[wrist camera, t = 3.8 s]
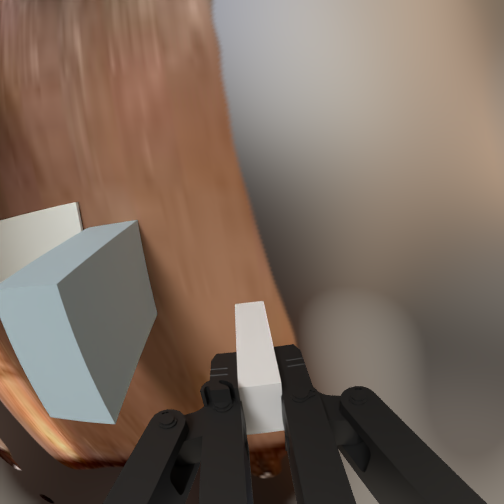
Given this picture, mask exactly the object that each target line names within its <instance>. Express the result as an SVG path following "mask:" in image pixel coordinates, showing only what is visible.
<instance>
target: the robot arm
mask: <svg viewBox="0 0 504 504" xmlns="http://www.w3.org/2000/svg"><path fill="white" fill-rule="evenodd" d="M235 321H236V349H237V352H233V353H223V354H216V355H215V357H214V358H213V359H212V361H211V371H210V381H208V382H206V383H205V384H204V385H203V386H202V388H201V390H200V392H201V396H202V400H203V403H204V407H203V408H202V409H200V410H199V411H196V412H194V413H190V414H187V415H183V414H182V413H181V412H180V411H177V410H168V409H167V410H164V411H160V412H159V413H157V414H155V415H154V417H153V418H152V419H151V421H150V422H149V424H148V426H147V427H146V429H145V431H144V433H143V434H142V436H141V438H140V440H139V441H138V443H137V445H136V447H135V448H134V450H133V452H132V454H131V455H130V457H129V459H128V460H127V462H126V464H125V466H124V467H123V469H122V471H121V473H120V474H119V476H118V478H117V480H116V482H115V483H114V485H113V487H112V488H111V490H110V492H109V494H108V495H107V497H106V499H105V501H104V502H103V504H185V502H186V500H187V497H188V494H189V492H190V489H191V486H192V484H193V482H194V479H195V476H196V474H197V471H198V468H199V466H200V462H201V470H200V490H199V504H253V494H252V483H251V471H250V459H249V447H248V441H247V435H249V434H258V433H267V432H275V431H282V430H284V431H285V446H286V451H287V452H288V458H289V462H290V468H291V474H292V479H293V484H294V490H295V495H296V500H297V504H356V502H355V499H354V496H353V493H352V490H351V486H350V484H349V480H348V478H347V475H346V472H345V469H344V466H343V463H342V460H341V457H340V454H339V451H338V449H339V450H340V452H341V453H342V454H343V456H344V457H345V458H346V460H347V461H348V463H349V464H350V465H351V467H352V468H353V469H354V471H355V472H356V473H357V475H358V476H359V477H360V479H361V480H362V481H363V483H364V484H365V485H366V487H367V488H368V489H369V491H370V492H371V493H372V495H373V496H374V497H375V499H376V500H377V501H378V502H379V504H487V503H486V502H485V501H484V500H483V499H482V498H481V497H480V496H479V495H478V494H476V493H475V492H474V491H473V490H472V489H471V488H470V487H469V486H468V485H467V484H466V483H465V482H464V481H463V480H462V479H461V478H460V477H459V476H458V475H457V474H456V473H455V472H454V471H453V470H452V469H451V468H450V467H449V466H448V465H447V464H446V463H445V462H444V461H443V460H442V459H441V458H440V457H438V455H436V453H435V452H433V451H432V450H431V449H430V448H429V447H428V446H427V445H426V444H425V443H424V442H423V441H422V440H421V439H420V438H419V437H418V436H417V435H416V434H415V433H414V432H413V431H412V430H411V429H410V428H409V427H408V426H407V425H406V424H405V423H404V422H403V421H402V420H401V419H400V418H399V417H398V416H397V415H396V414H395V413H394V412H393V411H392V410H391V409H390V408H389V407H388V406H387V405H386V404H385V403H384V402H383V401H382V400H381V399H380V398H379V397H378V396H377V395H376V394H375V393H374V392H373V391H372V390H370V389H368V388H366V387H362V386H355V387H351V388H348V389H346V390H345V391H344V392H343V393H342V394H341V396H330V395H325V394H322V393H319V392H318V391H317V390H316V389H315V388H314V387H313V385H312V383H311V380H310V377H309V374H308V371H307V368H306V365H305V362H304V359H303V357H302V354H301V351H300V349H298V348H297V347H296V346H295V345H294V344H292V345H285V346H278V347H273V343H272V338H271V334H270V329H269V325H268V320H267V315H266V311H265V306H264V302H263V301H259V302H250V303H242V304H235Z"/></svg>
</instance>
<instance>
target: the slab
mask: <svg viewBox="0 0 504 504" xmlns="http://www.w3.org/2000/svg"><path fill="white" fill-rule="evenodd" d="M156 316H157V310H156V306H155V302H154V298H153V294H152V290H151V285H150V281H149V276H148V272H147V267H146V262H145V257H144V252H143V247H142V242H141V237H140V232H139V226H138V220H134V221H127V222H121V223H114V224H108V225H102V226H96V227H90V228H87V229H85V230H83V231H81V232H80V233H78V234H76V235H75V236H73V237H71V238H70V239H68V240H66V241H65V242H63V243H61V244H60V245H58V246H56V247H55V248H53V249H51V250H50V251H48V252H47V253H45V254H43V255H42V256H40V257H39V258H37V259H36V260H34V261H33V262H31V263H29V264H28V265H26V266H25V267H23V268H22V269H20V270H19V271H17V272H16V273H14V274H13V275H11V276H10V277H9V278H7V279H6V280H4V281H3V282H1V283H0V318H1V321H2V323H3V326H4V328H5V331H6V333H7V335H8V338H9V340H10V342H11V344H12V347H13V349H14V351H15V353H16V355H17V357H18V359H19V362H20V364H21V366H22V368H23V370H24V371H25V373H26V375H27V377H28V379H29V381H30V383H31V385H32V386H33V388H34V390H35V392H36V394H37V395H38V397H39V399H40V401H41V402H42V404H43V406H44V407H45V409H46V410H47V412H48V414H49V415H50V417H54V418H61V419H68V420H76V421H84V422H94V423H105V424H116V421H117V418H118V415H119V412H120V409H121V407H122V404H123V401H124V398H125V396H126V393H127V390H128V387H129V385H130V382H131V379H132V377H133V374H134V371H135V369H136V366H137V364H138V361H139V358H140V356H141V353H142V351H143V348H144V346H145V343H146V341H147V338H148V336H149V333H150V331H151V328H152V326H153V323H154V321H155V319H156Z"/></svg>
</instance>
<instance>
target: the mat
mask: <svg viewBox="0 0 504 504" xmlns="http://www.w3.org/2000/svg"><path fill="white" fill-rule="evenodd" d="M81 231H83V227H82V222H81V216H80V211H79V205H78V202H74V203H70V204H65V205H61V206H56V207H52V208H48V209H43V210H39V211H35V212H31V213H27V214H23V215H19V216H15V217H11V218H8V219H4V220H0V283H1V282H3V281H4V280H6V279H7V278H9V277H10V276H11V275H13V274H14V273H16V272H17V271H19V270H20V269H22V268H23V267H25V266H26V265H28V264H29V263H31V262H33V261H34V260H36V259H37V258H39V257H40V256H42V255H43V254H45V253H47V252H48V251H50V250H51V249H53V248H55V247H56V246H58V245H60V244H61V243H63V242H65V241H66V240H68V239H70V238H71V237H73V236H75V235H76V234H78V233H80V232H81Z"/></svg>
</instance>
